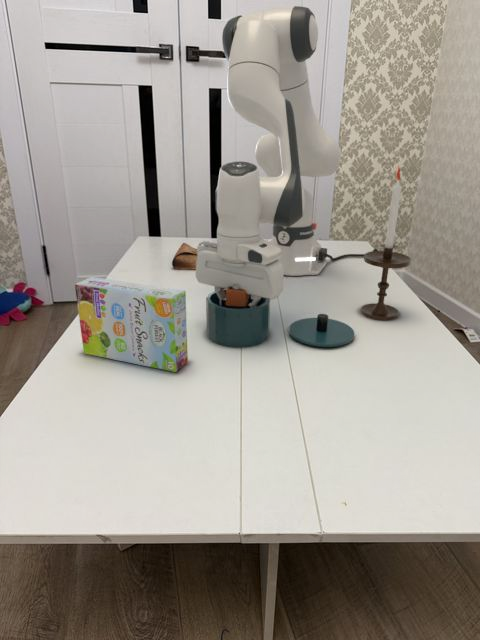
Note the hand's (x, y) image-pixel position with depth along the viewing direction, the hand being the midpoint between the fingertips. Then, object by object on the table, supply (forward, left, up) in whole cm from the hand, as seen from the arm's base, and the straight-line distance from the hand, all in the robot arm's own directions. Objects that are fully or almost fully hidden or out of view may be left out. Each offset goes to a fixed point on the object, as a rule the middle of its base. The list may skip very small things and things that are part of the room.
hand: (237, 309), depth 110 cm
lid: (-10, +16, -5) cm, 19 cm away
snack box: (+21, -11, -6) cm, 24 cm away
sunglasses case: (-39, -43, -6) cm, 58 cm away
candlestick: (-30, +23, -6) cm, 38 cm away
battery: (0, 0, -4) cm, 4 cm away
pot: (0, 0, -6) cm, 6 cm away
